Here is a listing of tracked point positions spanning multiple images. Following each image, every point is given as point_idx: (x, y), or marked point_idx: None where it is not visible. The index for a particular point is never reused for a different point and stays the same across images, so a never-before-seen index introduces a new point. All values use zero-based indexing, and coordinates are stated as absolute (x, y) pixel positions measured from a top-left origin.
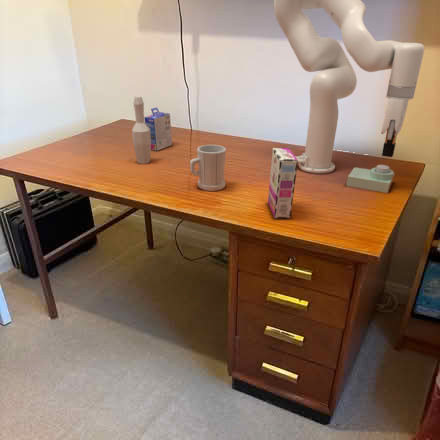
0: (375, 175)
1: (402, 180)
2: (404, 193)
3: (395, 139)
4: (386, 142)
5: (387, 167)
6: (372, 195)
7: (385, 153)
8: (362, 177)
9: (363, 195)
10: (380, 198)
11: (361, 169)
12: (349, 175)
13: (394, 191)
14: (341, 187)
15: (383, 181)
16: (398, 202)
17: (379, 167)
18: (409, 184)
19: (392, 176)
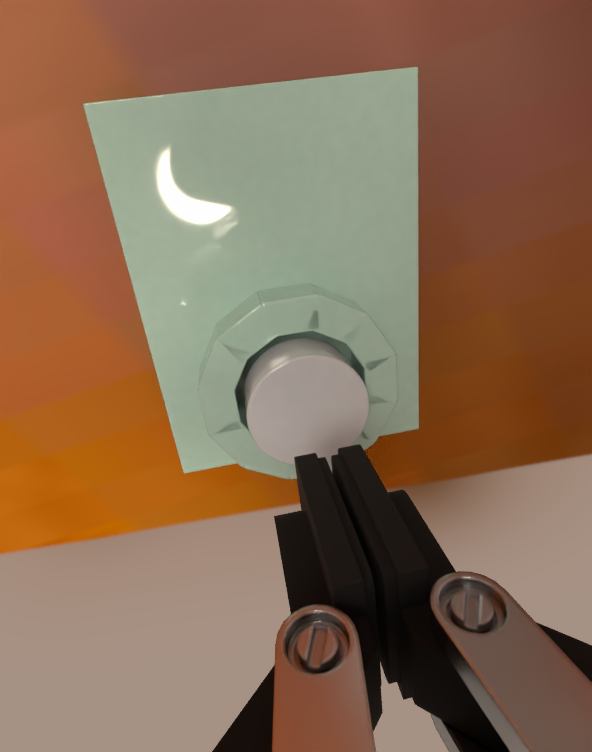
0: (202, 366)
1: (468, 428)
2: (252, 503)
3: (450, 747)
4: (280, 662)
5: (309, 449)
6: (70, 373)
7: (277, 522)
8: (158, 254)
9: (16, 322)
10: (59, 431)
11: (381, 163)
12: (120, 109)
13: None
14: (38, 88)
15: (187, 428)
16: (82, 525)
17: (263, 396)
18: (417, 477)
19: None
